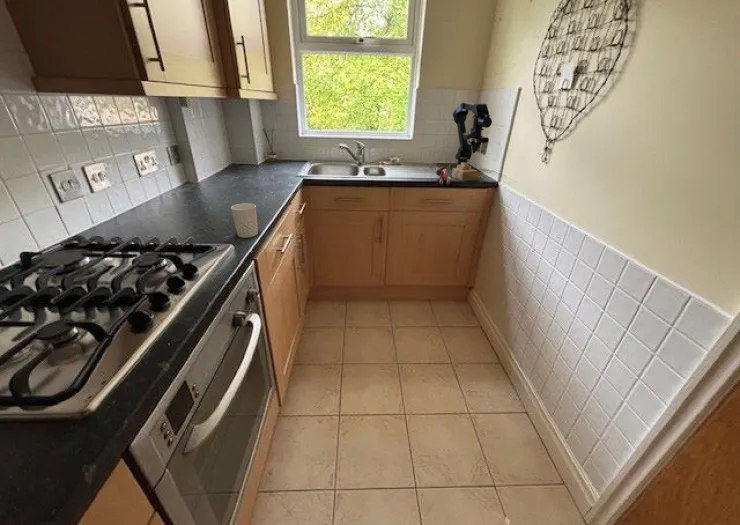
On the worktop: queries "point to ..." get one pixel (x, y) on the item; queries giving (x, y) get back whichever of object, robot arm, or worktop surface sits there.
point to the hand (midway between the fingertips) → (473, 153)
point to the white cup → (245, 219)
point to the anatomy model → (443, 174)
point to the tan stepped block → (464, 173)
